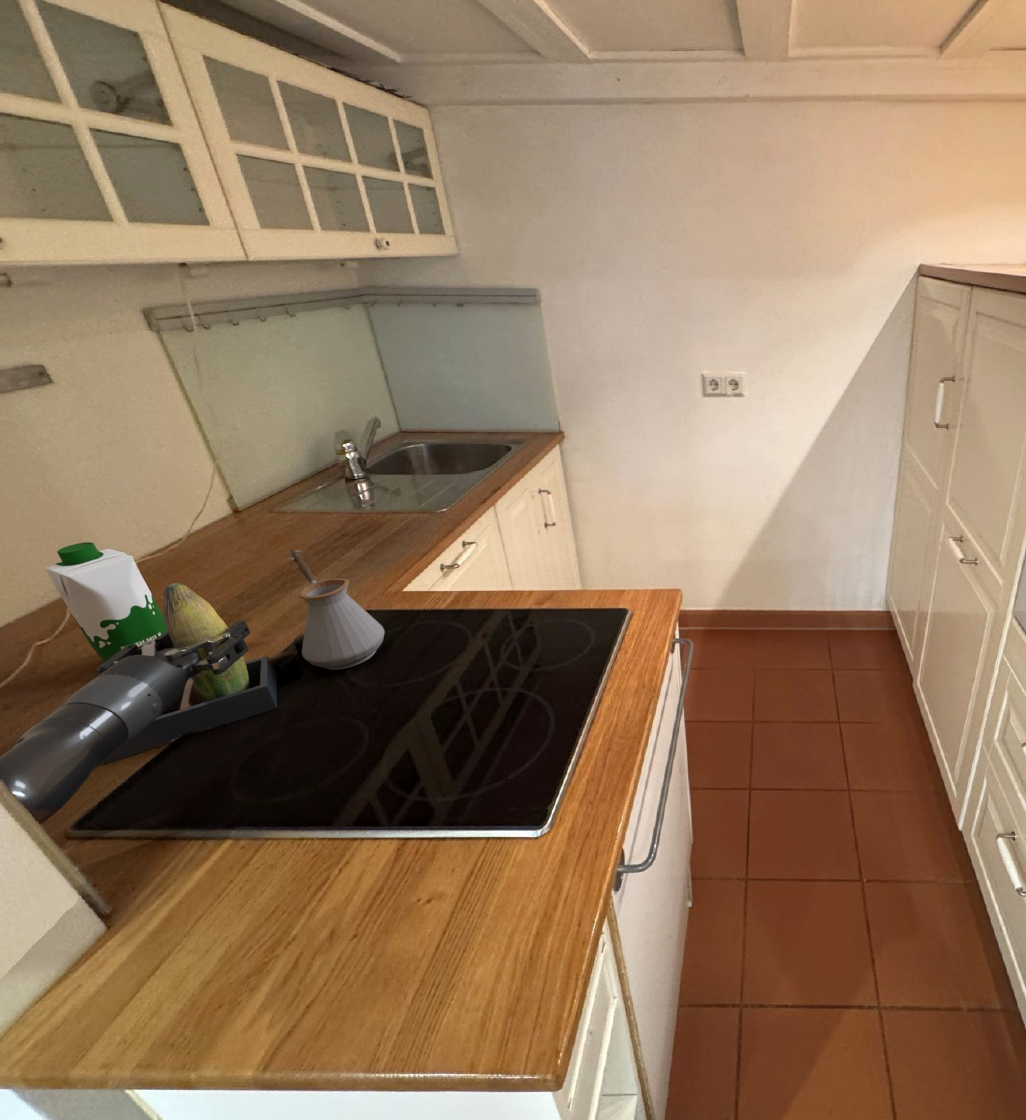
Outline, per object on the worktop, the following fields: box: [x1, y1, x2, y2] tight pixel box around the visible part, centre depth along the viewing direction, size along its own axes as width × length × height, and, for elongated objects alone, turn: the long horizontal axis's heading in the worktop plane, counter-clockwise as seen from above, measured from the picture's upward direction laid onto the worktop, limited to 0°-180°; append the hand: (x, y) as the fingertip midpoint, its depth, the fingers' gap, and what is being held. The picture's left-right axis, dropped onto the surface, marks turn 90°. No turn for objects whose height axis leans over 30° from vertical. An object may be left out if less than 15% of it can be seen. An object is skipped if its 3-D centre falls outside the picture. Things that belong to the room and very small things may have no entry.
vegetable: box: [162, 582, 250, 702], centre depth 85 cm, size 6×6×20 cm
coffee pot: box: [286, 549, 386, 671], centre depth 100 cm, size 21×12×15 cm, turn 48°
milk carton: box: [44, 541, 167, 663], centre depth 97 cm, size 9×9×20 cm
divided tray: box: [102, 655, 278, 765], centre depth 87 cm, size 18×10×4 cm, turn 126°
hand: (212, 629), depth 86 cm, fingers open, 8 cm apart
